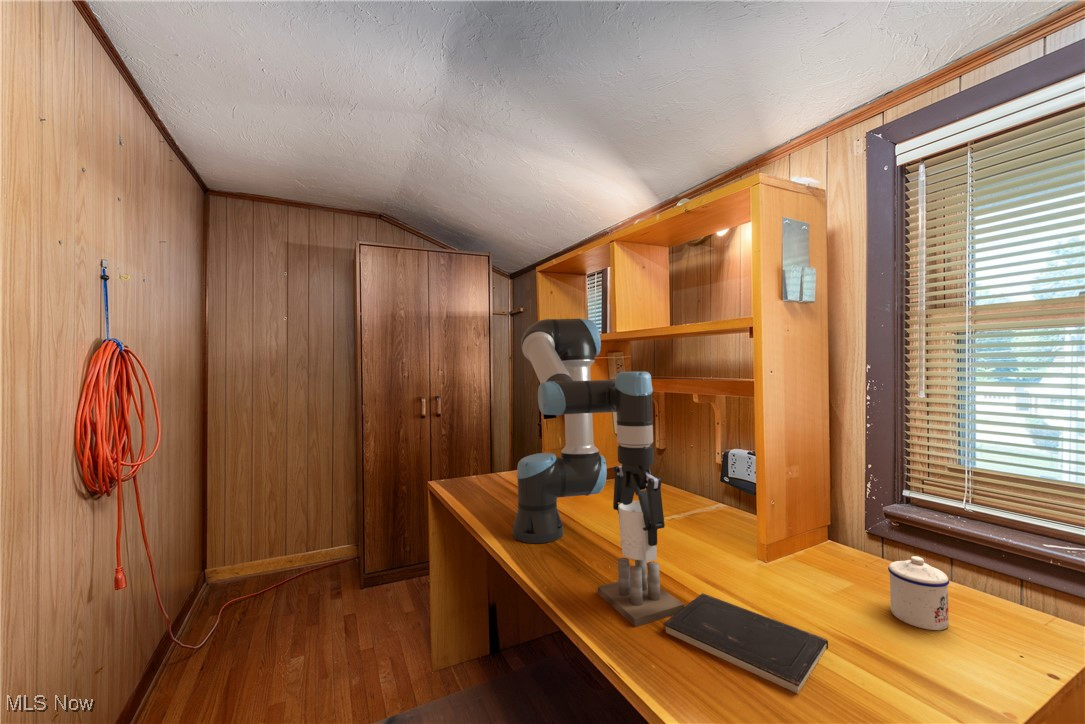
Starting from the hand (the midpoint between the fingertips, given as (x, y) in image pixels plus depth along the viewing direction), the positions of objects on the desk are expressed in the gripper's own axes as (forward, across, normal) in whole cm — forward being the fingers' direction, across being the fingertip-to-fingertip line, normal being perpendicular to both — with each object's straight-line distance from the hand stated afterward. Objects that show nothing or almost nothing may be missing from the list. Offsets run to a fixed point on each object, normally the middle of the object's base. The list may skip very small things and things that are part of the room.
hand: (638, 552), depth 95 cm
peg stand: (+11, 0, 0) cm, 11 cm away
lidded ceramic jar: (+11, -28, -46) cm, 55 cm away
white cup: (0, 0, 0) cm, 0 cm away
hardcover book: (+11, -19, -9) cm, 24 cm away
